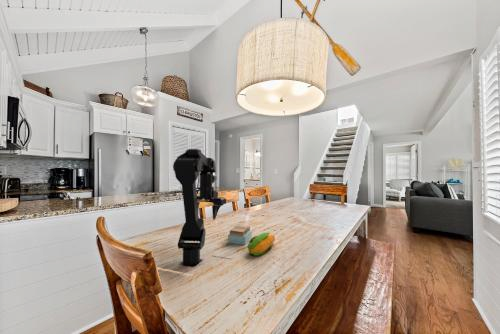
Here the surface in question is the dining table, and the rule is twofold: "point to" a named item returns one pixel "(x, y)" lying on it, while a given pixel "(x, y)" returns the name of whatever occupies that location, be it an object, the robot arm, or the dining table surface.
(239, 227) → the board
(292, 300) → the dining table surface
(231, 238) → the dish
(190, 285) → the dining table surface
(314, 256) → the dining table surface
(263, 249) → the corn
